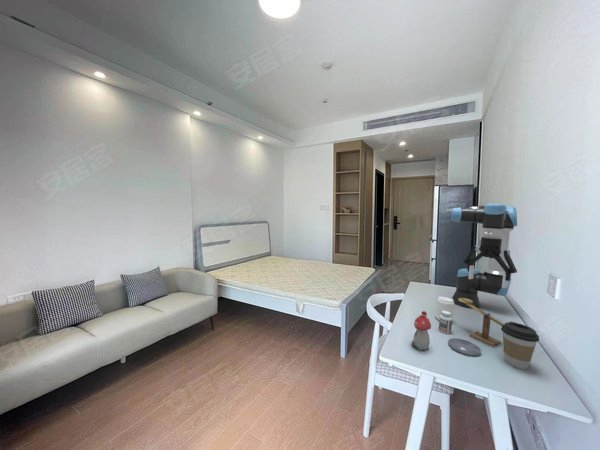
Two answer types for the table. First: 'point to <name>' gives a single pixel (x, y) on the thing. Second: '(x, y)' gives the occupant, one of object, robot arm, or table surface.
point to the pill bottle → (445, 322)
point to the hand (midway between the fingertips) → (486, 282)
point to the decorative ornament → (421, 332)
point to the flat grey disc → (464, 347)
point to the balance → (484, 335)
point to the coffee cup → (518, 344)
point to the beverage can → (444, 306)
